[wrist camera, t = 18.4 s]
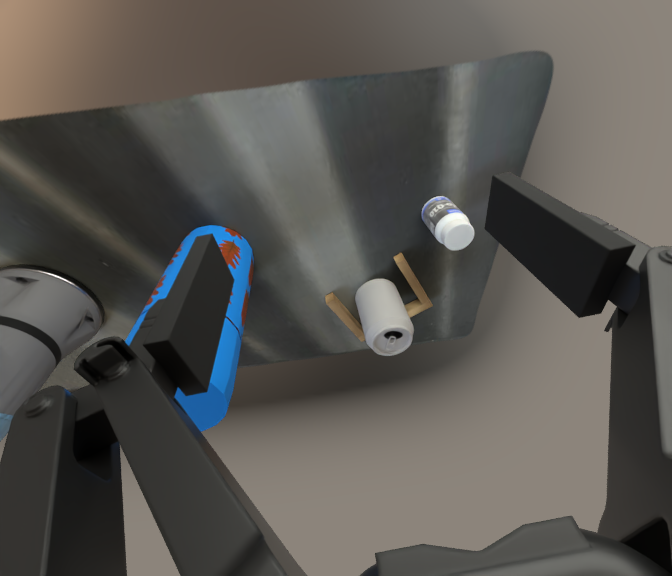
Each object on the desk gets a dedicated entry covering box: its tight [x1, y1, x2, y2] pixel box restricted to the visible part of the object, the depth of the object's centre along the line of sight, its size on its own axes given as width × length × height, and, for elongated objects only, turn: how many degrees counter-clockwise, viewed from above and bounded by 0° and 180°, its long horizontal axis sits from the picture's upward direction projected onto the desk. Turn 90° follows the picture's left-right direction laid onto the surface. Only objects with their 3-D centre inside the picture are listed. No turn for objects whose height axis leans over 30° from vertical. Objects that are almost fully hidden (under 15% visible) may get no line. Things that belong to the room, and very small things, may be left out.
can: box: [355, 279, 414, 356], centre depth 50 cm, size 8×8×12 cm
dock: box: [325, 253, 433, 342], centre depth 55 cm, size 15×12×2 cm
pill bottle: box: [422, 196, 474, 250], centre depth 43 cm, size 5×5×8 cm
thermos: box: [125, 225, 254, 432], centre depth 37 cm, size 11×11×25 cm
